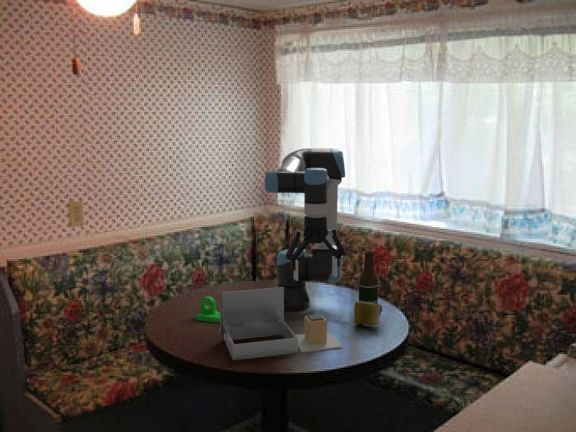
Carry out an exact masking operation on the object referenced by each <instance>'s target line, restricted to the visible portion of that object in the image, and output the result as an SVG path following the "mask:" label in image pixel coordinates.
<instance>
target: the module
mask: <svg viewBox="0 0 576 432" xmlns="http://www.w3.org/2000/svg"><path fill="white" fill-rule="evenodd" d="M327 331H328V320H327V318H325V317H324V315H322V314H321V313H315V314H307V315H304V334H305V339H306V341H307V342H308V343H309V344H310V345H313V344H322V343H327Z"/></svg>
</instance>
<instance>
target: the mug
mask: <svg viewBox="0 0 576 432" xmlns="http://www.w3.org/2000/svg"><path fill="white" fill-rule="evenodd" d="M353 309H354V315H353V316H354V323H355V325H365V326H370V327H373V326H378V325H379V317H380V316H381V314H382V312H383V306H382V304H381V303H378V304H376V303H375V304H373V303H367V302H359V301H355V302H354V308H353Z"/></svg>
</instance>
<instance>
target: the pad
mask: <svg viewBox="0 0 576 432" xmlns="http://www.w3.org/2000/svg"><path fill="white" fill-rule="evenodd" d="M295 335H296V337H297V338H298V350H299V351H300V352H301V353H302V354H303V353H311V352H319V351H327V350H337V349H338V350H339V349H343V345H342V344H341V342H339V341H338V340H337V339H336V338H335V337H334V336H333V335H332V334H331V332H330V331H329V330H327V343H322V344H313V345H310V344H309V343H308V342H307V341H306V339H305V333H301V334H300V333H299V334H295Z"/></svg>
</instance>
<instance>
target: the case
mask: <svg viewBox="0 0 576 432" xmlns="http://www.w3.org/2000/svg"><path fill="white" fill-rule="evenodd" d="M219 308H220V309H219V312H220V318H221V323H220V326H218V327H219V328H218V329H219V333H220V342H221V343H225V345H226V348H227V350H228V352H229V354H230V357H231V359H232V361H239V360H248V359H256V358H265V357H274V356H283V355H292V354H298V353H299V348H298V338H297V337H296V335H297V334H295V333H294V331H293V330H292V329H291V328H290V326H289V325H288V324H287V322H286V321H285V311H284V287H277V286H276V287H265V288H257V289H256V288H255V289H253V288H252V289H247V290H246V289H244V290H241V289H240V290H233V291H231V290H229V291H222V301H220V302H219ZM272 336H273V337H274V336H282V337H284V338H282V339H272V340H263V341H262V340H261V341H254V342H253V341H252V342H244V343H234V341H236V340H243V339H244V340H245V339H255V338H256V339H257V338H262V337H272Z"/></svg>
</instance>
